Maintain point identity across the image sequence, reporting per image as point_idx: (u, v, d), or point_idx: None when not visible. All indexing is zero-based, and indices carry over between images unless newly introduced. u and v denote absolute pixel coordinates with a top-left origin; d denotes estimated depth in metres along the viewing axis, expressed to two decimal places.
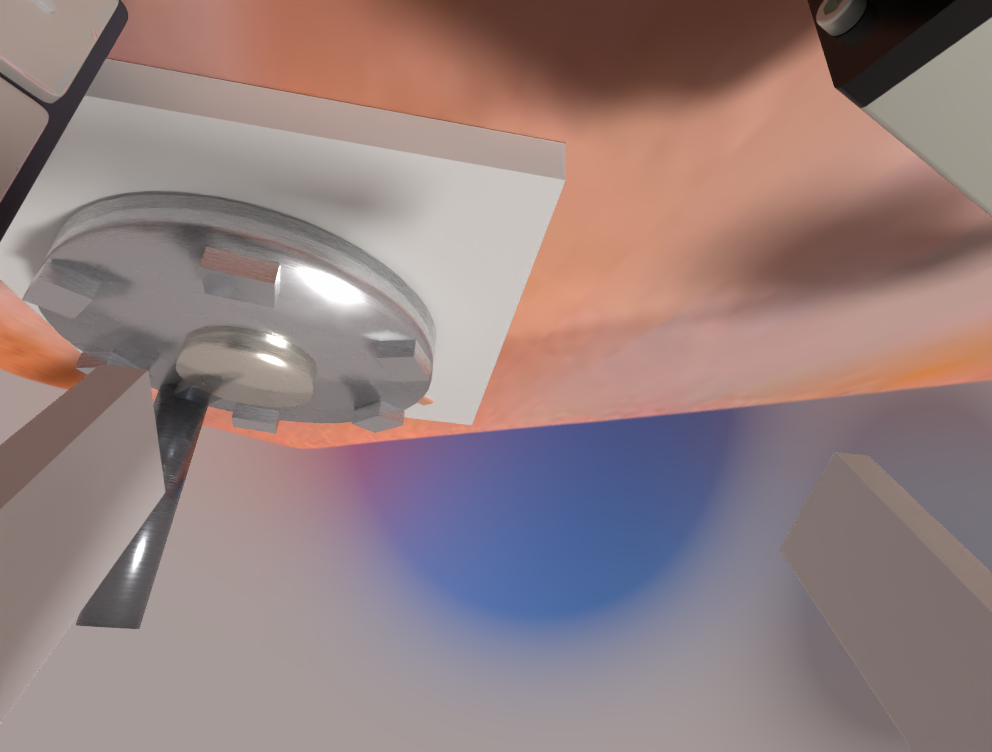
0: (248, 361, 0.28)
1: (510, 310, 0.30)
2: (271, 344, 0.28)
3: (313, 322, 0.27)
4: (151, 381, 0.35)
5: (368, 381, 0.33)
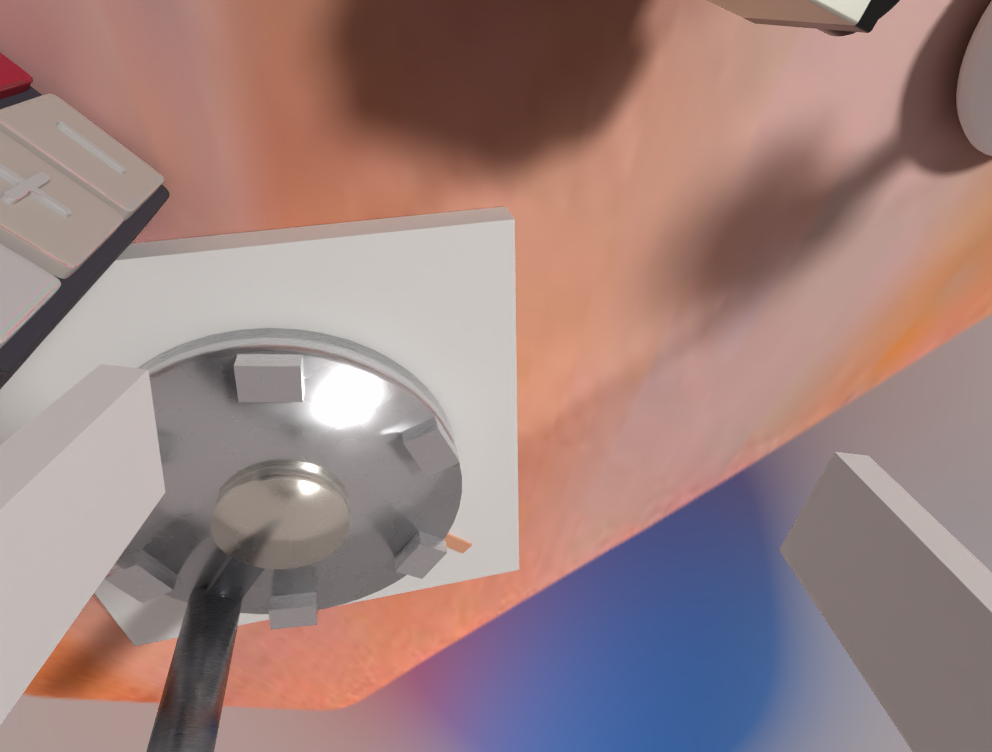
0: (282, 488, 0.28)
1: (512, 380, 0.33)
2: (302, 468, 0.29)
3: (338, 425, 0.29)
4: (180, 589, 0.33)
5: (401, 501, 0.33)
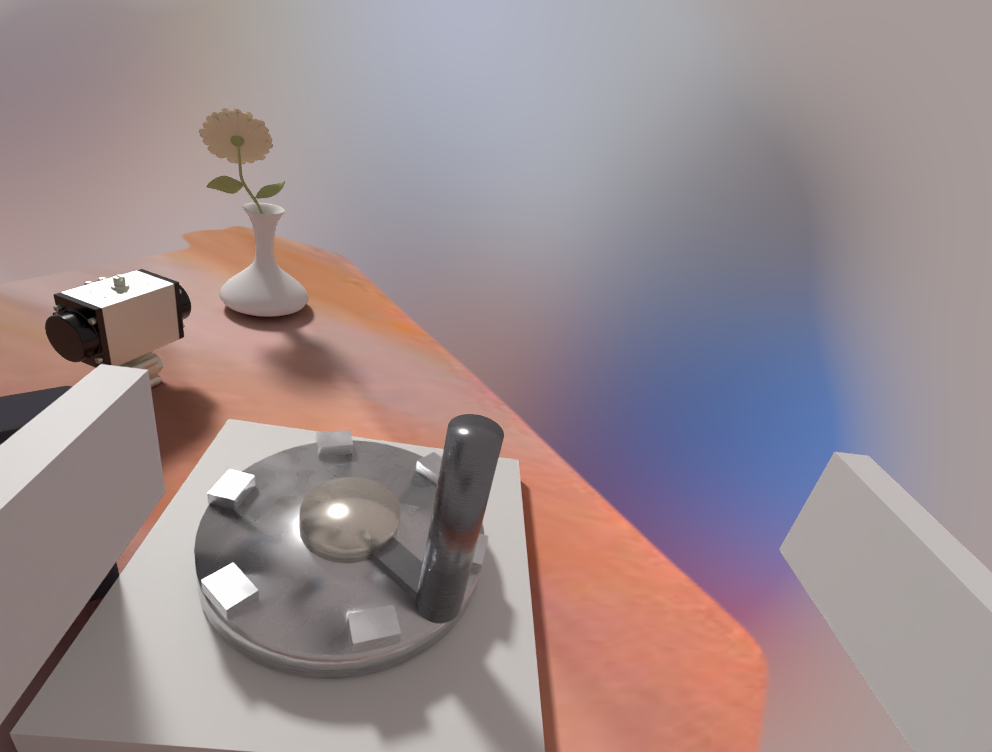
0: (314, 497, 0.40)
1: None
2: None
3: (294, 479, 0.43)
4: (412, 621, 0.35)
5: (380, 471, 0.46)
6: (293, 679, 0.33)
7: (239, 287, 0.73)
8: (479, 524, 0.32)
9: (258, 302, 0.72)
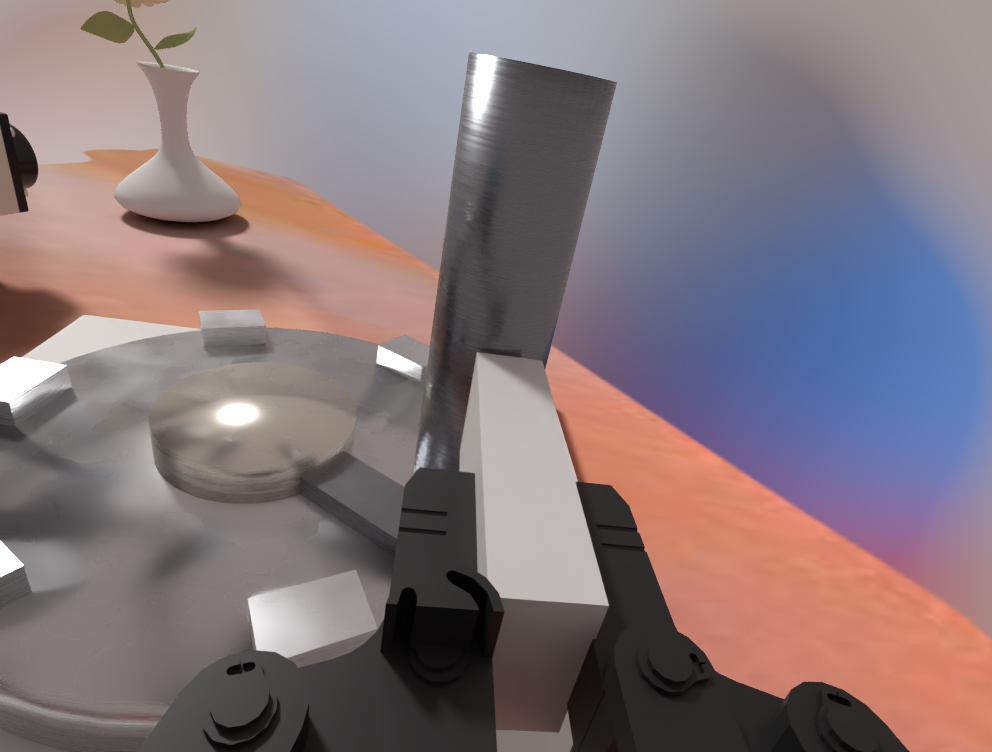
0: (183, 391, 0.21)
1: None
2: None
3: (154, 378, 0.24)
4: None
5: (316, 364, 0.27)
6: None
7: (139, 180, 0.53)
8: (547, 350, 0.13)
9: (166, 198, 0.52)
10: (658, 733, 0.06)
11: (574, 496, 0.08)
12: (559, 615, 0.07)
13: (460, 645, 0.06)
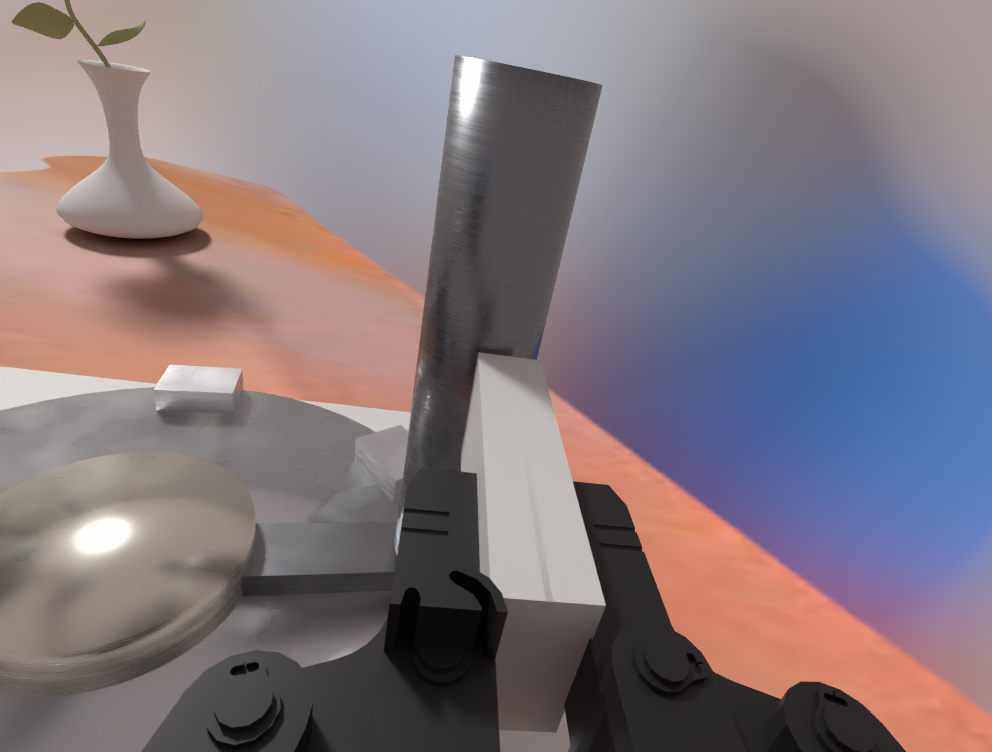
0: None
1: None
2: None
3: None
4: None
5: (79, 446, 0.19)
6: None
7: (83, 192, 0.47)
8: None
9: (112, 213, 0.47)
10: (655, 733, 0.06)
11: (571, 496, 0.08)
12: (556, 615, 0.07)
13: (463, 645, 0.06)
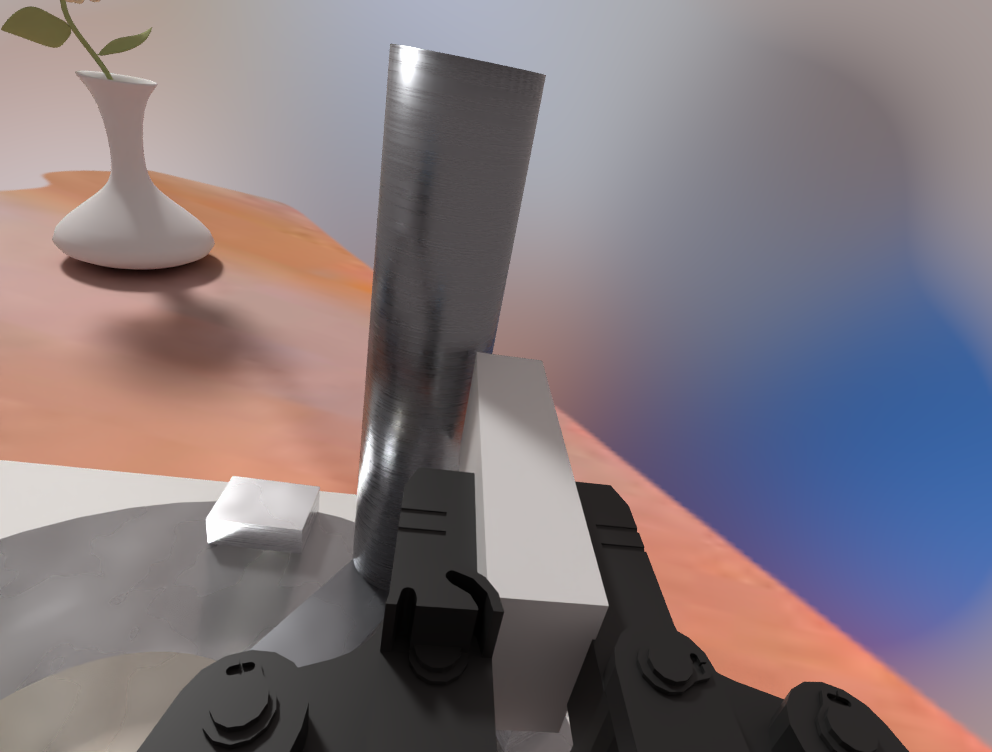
0: None
1: (186, 482, 0.23)
2: None
3: None
4: None
5: None
6: None
7: (82, 218, 0.42)
8: None
9: (113, 242, 0.42)
10: (659, 733, 0.06)
11: (574, 496, 0.08)
12: (559, 615, 0.07)
13: (460, 645, 0.06)
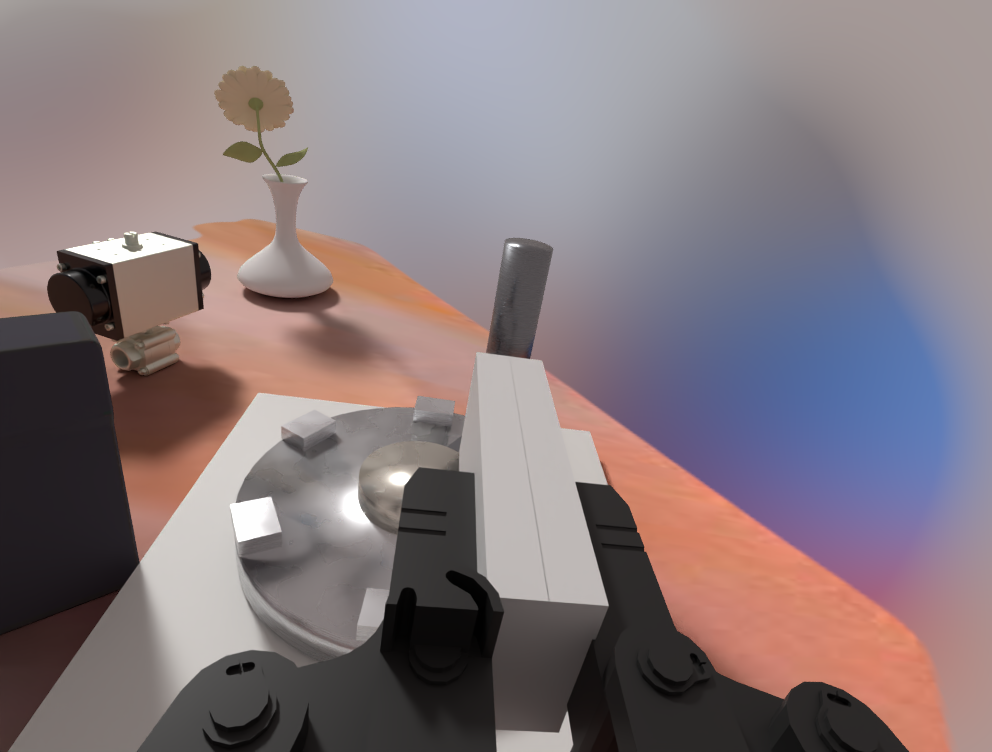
0: None
1: None
2: (390, 525, 0.30)
3: (344, 561, 0.28)
4: None
5: (310, 480, 0.33)
6: None
7: (259, 266, 0.66)
8: None
9: (280, 281, 0.66)
10: (659, 733, 0.06)
11: (573, 496, 0.08)
12: (558, 615, 0.07)
13: (460, 645, 0.06)
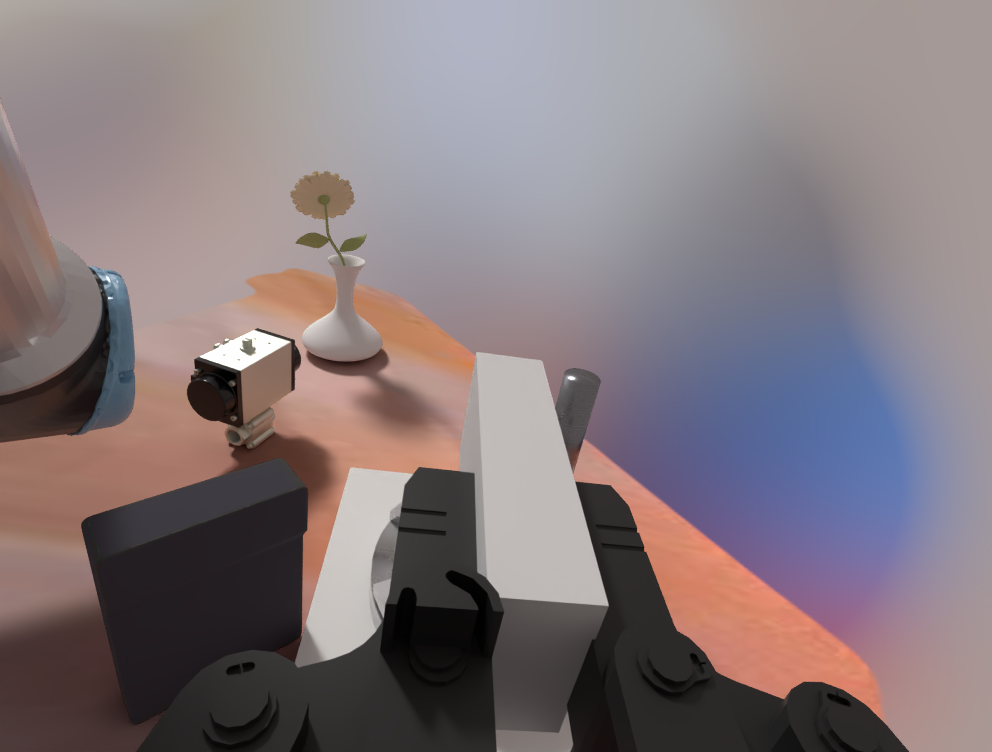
0: None
1: None
2: None
3: None
4: None
5: None
6: None
7: (323, 334, 0.77)
8: None
9: (342, 348, 0.76)
10: (659, 733, 0.06)
11: (574, 496, 0.08)
12: (559, 615, 0.07)
13: (460, 645, 0.06)
